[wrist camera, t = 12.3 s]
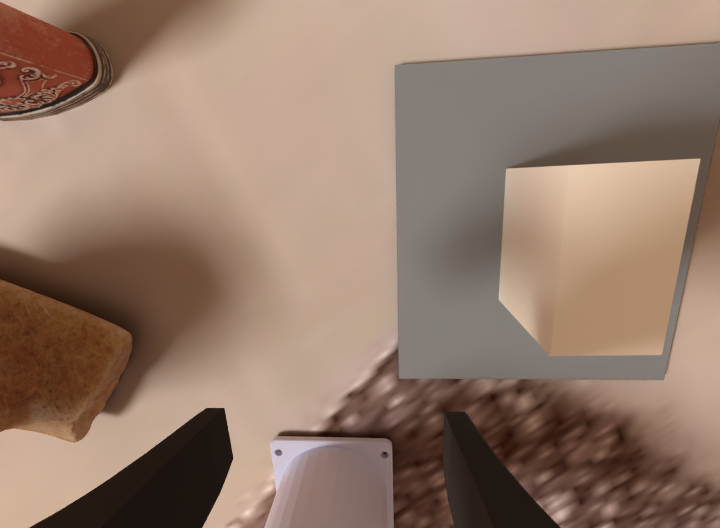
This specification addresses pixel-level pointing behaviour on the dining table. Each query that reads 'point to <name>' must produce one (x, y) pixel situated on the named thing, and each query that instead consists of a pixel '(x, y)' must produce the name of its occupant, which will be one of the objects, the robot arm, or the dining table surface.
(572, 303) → the cream block
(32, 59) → the red patterned tin
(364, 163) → the dining table surface
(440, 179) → the slate mat
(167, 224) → the dining table surface
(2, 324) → the brown bookend
